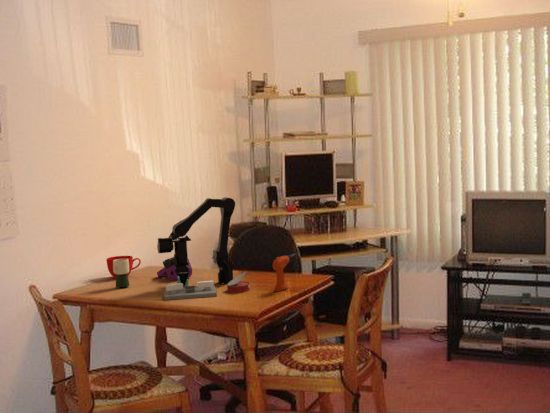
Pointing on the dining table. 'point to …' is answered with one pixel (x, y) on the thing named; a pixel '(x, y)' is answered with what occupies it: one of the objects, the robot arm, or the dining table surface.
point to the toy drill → (281, 271)
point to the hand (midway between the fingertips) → (183, 285)
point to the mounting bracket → (172, 272)
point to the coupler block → (180, 282)
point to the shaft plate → (190, 291)
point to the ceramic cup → (130, 258)
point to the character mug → (121, 272)
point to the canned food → (238, 285)
